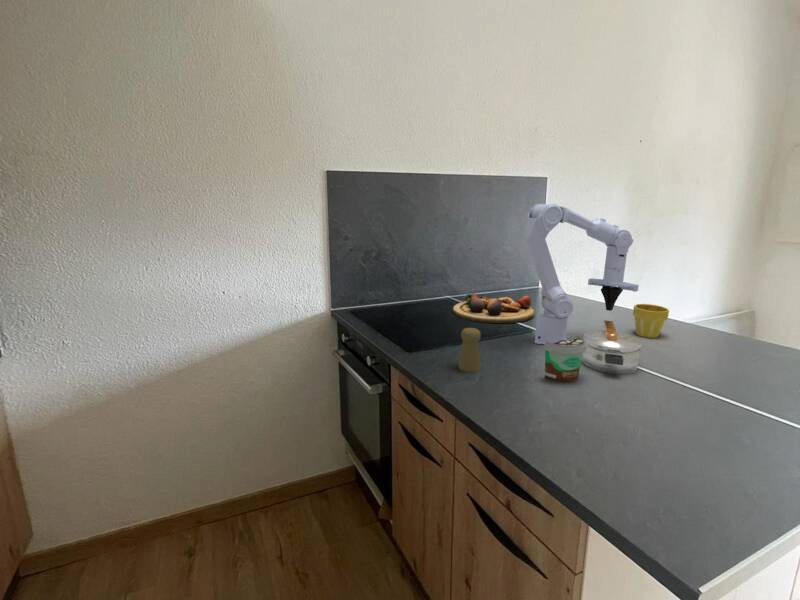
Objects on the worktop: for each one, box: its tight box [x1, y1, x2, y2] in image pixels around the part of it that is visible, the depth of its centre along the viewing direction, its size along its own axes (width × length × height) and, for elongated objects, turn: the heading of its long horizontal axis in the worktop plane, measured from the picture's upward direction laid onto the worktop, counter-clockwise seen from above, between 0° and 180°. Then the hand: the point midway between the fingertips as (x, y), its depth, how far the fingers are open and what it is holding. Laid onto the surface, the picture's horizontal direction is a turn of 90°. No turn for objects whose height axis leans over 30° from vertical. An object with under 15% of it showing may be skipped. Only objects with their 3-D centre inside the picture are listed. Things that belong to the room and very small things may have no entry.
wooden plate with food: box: [452, 292, 535, 324], centre depth 172 cm, size 32×32×8 cm
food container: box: [542, 335, 586, 383], centre depth 109 cm, size 12×6×10 cm, turn 117°
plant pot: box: [632, 303, 670, 339], centre depth 145 cm, size 10×10×10 cm
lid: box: [582, 320, 643, 353], centre depth 121 cm, size 20×15×3 cm
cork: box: [457, 327, 482, 373], centre depth 115 cm, size 6×6×11 cm
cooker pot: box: [581, 344, 641, 375], centre depth 120 cm, size 22×14×6 cm, turn 160°
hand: (609, 309), depth 137 cm, fingers closed
